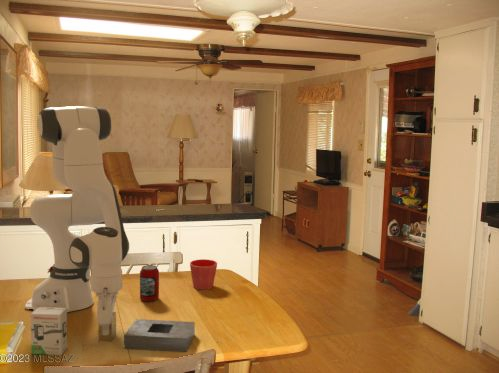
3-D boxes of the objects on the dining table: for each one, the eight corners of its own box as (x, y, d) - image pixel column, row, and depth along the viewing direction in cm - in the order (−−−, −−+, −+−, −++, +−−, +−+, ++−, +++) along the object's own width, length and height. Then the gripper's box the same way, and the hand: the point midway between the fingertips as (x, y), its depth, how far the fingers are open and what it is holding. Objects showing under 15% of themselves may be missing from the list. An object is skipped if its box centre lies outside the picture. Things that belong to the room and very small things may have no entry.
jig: (124, 348, 144) (124, 335, 144) (136, 331, 156) (136, 319, 156) (186, 352, 143) (186, 338, 142) (194, 334, 155) (194, 322, 154)
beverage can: (136, 300, 183) (136, 268, 182) (146, 294, 190) (146, 263, 188) (152, 303, 181) (152, 270, 179) (162, 297, 187) (162, 265, 186)
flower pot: (222, 286, 201) (223, 262, 200) (202, 292, 193) (203, 268, 192) (204, 280, 208) (204, 257, 207) (184, 286, 200) (184, 262, 199)
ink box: (30, 354, 139) (28, 313, 138) (37, 346, 144) (36, 306, 143) (61, 355, 139) (60, 313, 138) (68, 347, 144) (67, 307, 143)
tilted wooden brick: (98, 341, 149) (98, 316, 148) (103, 335, 153) (103, 311, 152) (111, 341, 149) (111, 317, 148) (116, 336, 153) (116, 312, 152)
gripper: (115, 294, 139) (115, 342, 141) (120, 272, 159) (120, 315, 161) (91, 295, 138) (92, 344, 140) (99, 273, 158) (99, 316, 160)
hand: (107, 328), depth 150 cm, fingers open, 7 cm apart
